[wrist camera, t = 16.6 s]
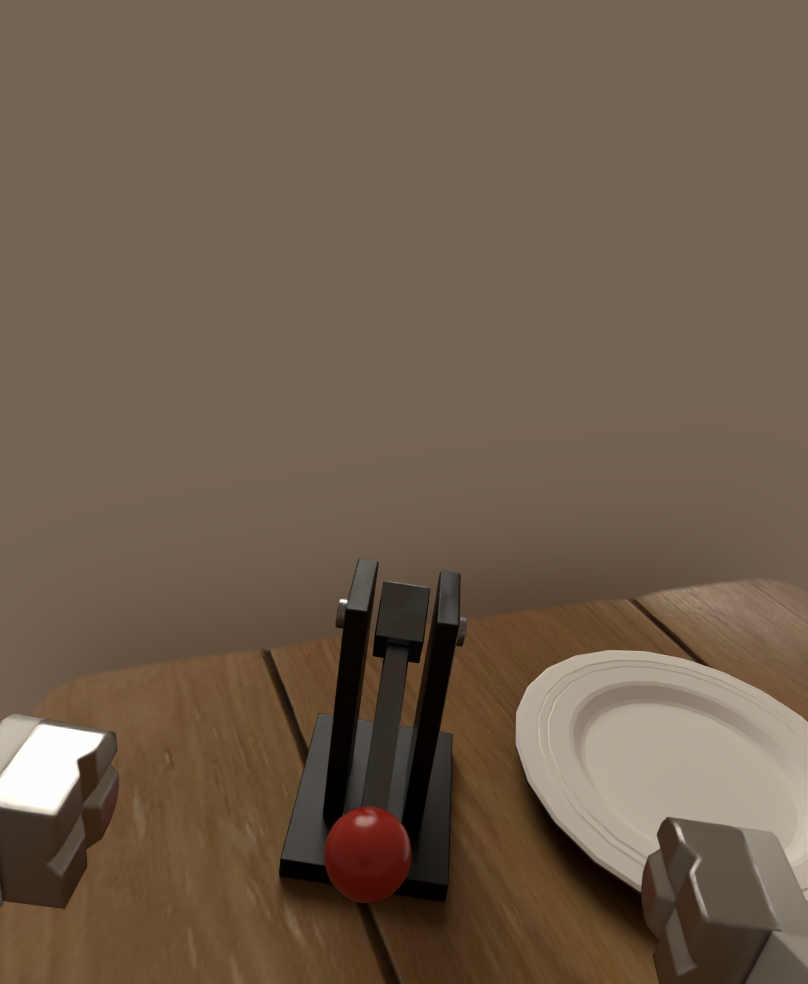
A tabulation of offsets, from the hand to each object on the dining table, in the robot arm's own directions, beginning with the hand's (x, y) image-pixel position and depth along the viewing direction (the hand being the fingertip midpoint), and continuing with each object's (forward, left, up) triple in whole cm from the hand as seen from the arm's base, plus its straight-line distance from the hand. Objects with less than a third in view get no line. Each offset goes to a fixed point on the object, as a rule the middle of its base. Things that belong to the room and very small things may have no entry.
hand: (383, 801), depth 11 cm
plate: (+18, +26, -24) cm, 40 cm away
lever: (0, +17, -16) cm, 23 cm away
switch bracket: (0, +21, -24) cm, 32 cm away
